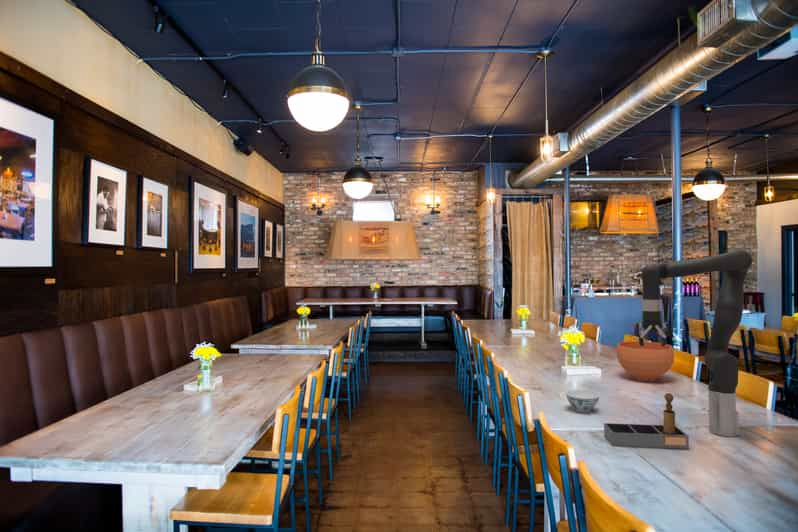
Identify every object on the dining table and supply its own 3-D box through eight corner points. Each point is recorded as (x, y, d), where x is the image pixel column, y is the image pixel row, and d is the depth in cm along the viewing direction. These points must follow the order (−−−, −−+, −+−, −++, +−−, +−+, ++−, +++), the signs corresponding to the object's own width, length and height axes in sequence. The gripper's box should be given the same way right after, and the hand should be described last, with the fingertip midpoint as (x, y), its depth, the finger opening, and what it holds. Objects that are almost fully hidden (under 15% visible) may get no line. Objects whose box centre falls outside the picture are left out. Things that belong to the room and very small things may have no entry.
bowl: (606, 377, 285) (605, 343, 285) (639, 371, 298) (639, 339, 298) (650, 388, 258) (650, 351, 258) (685, 381, 271) (685, 346, 271)
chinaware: (603, 415, 213) (602, 399, 213) (568, 414, 216) (568, 397, 216) (595, 406, 228) (595, 390, 228) (563, 404, 231) (563, 389, 231)
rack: (675, 438, 185) (675, 425, 185) (689, 449, 173) (688, 436, 173) (604, 435, 189) (604, 423, 189) (612, 446, 177) (612, 433, 177)
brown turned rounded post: (669, 444, 176) (668, 396, 176) (655, 437, 182) (655, 392, 182) (683, 441, 177) (682, 395, 177) (669, 436, 184) (668, 390, 184)
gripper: (665, 308, 207) (666, 345, 207) (631, 308, 210) (632, 344, 210) (672, 310, 200) (673, 348, 200) (637, 310, 202) (638, 347, 202)
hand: (652, 346), depth 205 cm, fingers open, 8 cm apart
